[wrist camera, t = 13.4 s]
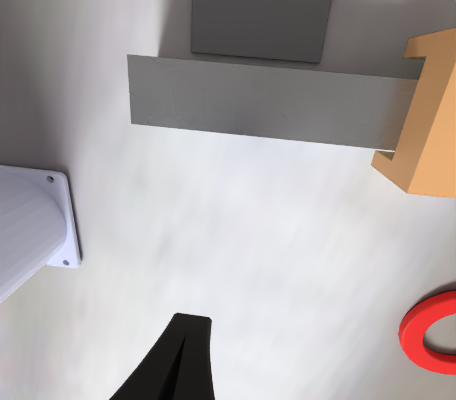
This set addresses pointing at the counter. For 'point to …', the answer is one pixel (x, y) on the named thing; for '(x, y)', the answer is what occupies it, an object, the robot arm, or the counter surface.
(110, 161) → the counter surface
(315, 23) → the pad
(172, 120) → the rail
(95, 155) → the counter surface
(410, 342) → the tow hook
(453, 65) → the peach cuboid block
